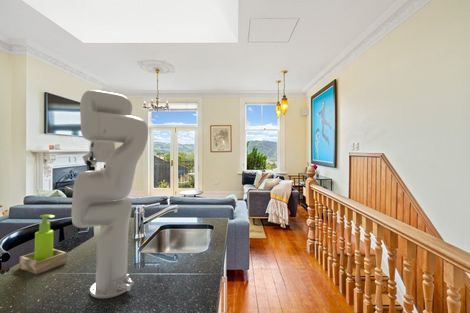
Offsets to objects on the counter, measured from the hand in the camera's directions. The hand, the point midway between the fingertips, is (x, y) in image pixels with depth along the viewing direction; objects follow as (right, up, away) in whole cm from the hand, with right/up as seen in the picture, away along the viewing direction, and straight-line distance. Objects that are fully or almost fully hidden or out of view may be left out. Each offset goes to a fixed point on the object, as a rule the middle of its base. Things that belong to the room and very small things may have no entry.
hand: (101, 175), depth 105 cm
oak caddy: (-18, -36, -10) cm, 41 cm away
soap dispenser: (-18, -35, -10) cm, 41 cm away
